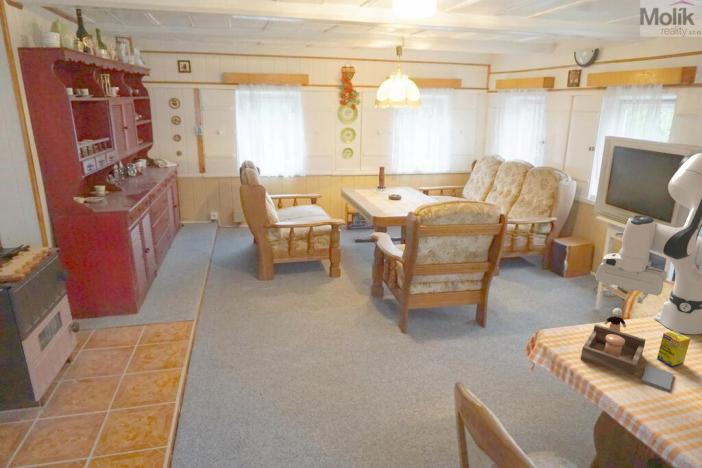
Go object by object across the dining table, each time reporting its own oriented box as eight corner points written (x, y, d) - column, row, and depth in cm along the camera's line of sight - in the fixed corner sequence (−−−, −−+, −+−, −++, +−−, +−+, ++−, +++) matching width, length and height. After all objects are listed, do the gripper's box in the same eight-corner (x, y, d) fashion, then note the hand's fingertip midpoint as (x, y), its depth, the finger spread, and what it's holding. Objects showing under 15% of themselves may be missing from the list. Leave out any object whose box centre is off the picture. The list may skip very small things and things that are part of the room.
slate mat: (646, 367, 162) (647, 364, 162) (673, 375, 158) (673, 373, 157) (640, 381, 155) (641, 379, 154) (668, 391, 150) (669, 389, 149)
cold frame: (592, 339, 179) (595, 324, 177) (641, 355, 169) (645, 339, 167) (580, 359, 167) (583, 342, 165) (633, 377, 157) (637, 360, 154)
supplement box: (656, 358, 167) (662, 332, 164) (667, 355, 169) (674, 329, 166) (672, 367, 162) (679, 341, 159) (683, 364, 164) (691, 338, 161)
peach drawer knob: (604, 350, 172) (608, 332, 170) (622, 356, 168) (626, 338, 166) (600, 358, 168) (604, 339, 165) (618, 364, 164) (623, 345, 161)
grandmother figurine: (619, 334, 183) (626, 306, 179) (624, 339, 179) (630, 311, 175) (600, 333, 184) (605, 305, 180) (604, 338, 180) (609, 310, 176)
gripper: (669, 267, 152) (660, 304, 156) (602, 253, 164) (595, 287, 169) (667, 273, 147) (657, 311, 152) (597, 257, 160) (591, 293, 164)
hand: (624, 298), depth 160 cm, fingers open, 8 cm apart
